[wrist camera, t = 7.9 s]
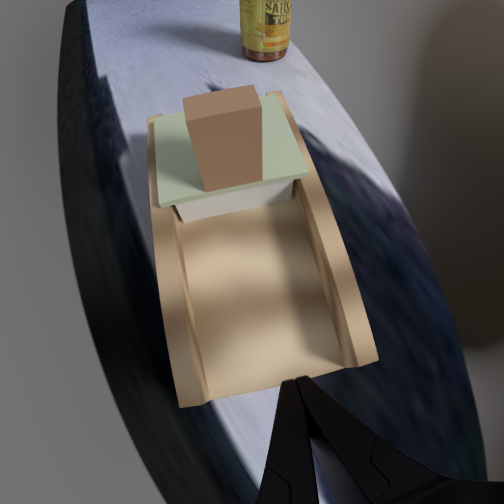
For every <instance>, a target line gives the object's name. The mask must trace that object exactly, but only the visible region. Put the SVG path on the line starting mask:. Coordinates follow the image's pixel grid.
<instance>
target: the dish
mask: <svg viewBox="0 0 504 504" xmlns="http://www.w3.org/2000/svg"><path fill="white" fill-rule="evenodd" d="M293 181H294V180H288V181H283V182H278V183H272V184H267V185H262V186H257V187H252V188H247V189H242V190H238V191H233V192H228V193H224V194H219V195H214V196H210V197H205V198H201V199H197V200H192V201H188V202H184V203H180V204H176V205H175V206H176V208H177V210H178V212H179V214H180V216H181V218H182V220H183V222H184V223H186V222H190V221H195V220H199V219H203V218H208V217H212V216H217V215H221V214H226V213H230V212H235V211H240V210H244V209H249V208H254V207H259V206H263V205H268V204H273V203H278V202H283V201H288V200H291V195H292V188H293Z"/></svg>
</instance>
